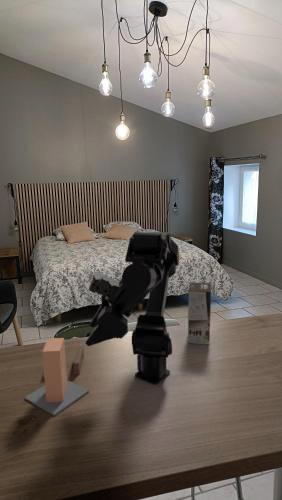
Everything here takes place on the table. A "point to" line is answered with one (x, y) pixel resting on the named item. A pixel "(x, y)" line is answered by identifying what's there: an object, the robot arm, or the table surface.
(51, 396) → the thick orange-brown block
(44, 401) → the slate mat
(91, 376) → the table surface
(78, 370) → the slot holder
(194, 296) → the coffee box
